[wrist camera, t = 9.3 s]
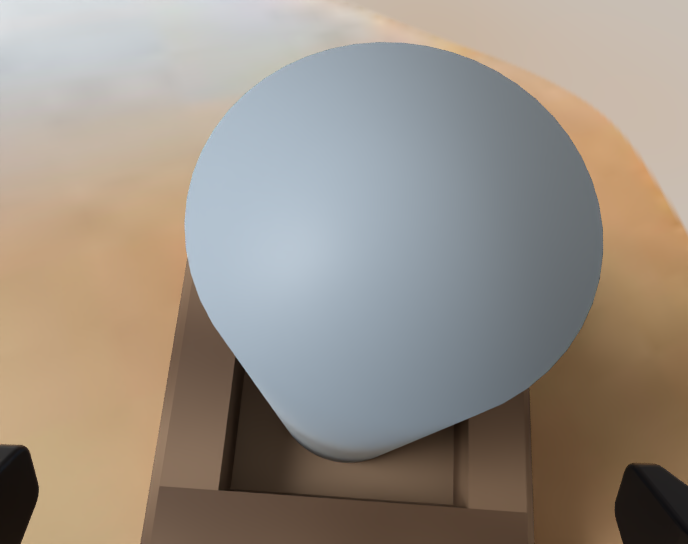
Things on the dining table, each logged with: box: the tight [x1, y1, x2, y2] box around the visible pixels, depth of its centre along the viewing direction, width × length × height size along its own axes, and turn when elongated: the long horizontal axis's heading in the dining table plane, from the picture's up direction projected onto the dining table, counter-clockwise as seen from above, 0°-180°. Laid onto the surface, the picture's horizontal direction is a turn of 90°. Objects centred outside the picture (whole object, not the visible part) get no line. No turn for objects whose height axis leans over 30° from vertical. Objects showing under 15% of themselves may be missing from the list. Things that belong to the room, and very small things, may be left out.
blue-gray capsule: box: [185, 42, 603, 463], centre depth 12 cm, size 4×4×12 cm
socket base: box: [141, 257, 534, 544], centre depth 18 cm, size 11×11×4 cm
